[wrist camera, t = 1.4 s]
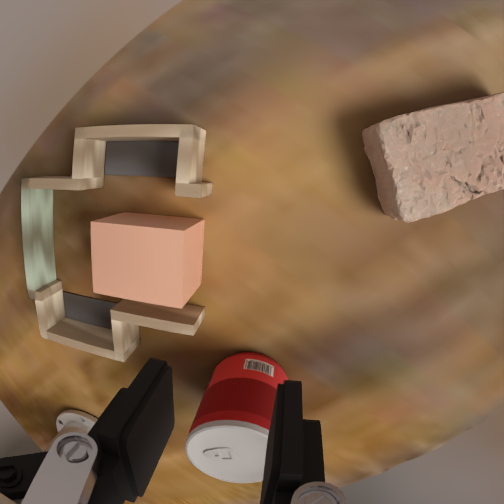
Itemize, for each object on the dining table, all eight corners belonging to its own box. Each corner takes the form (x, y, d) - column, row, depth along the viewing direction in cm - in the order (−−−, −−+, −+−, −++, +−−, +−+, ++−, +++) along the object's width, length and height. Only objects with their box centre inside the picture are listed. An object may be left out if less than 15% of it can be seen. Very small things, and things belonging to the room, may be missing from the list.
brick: (385, 220, 27) (403, 230, 22) (355, 129, 25) (369, 121, 21) (515, 174, 24) (543, 177, 20) (493, 96, 23) (519, 88, 18)
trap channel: (203, 355, 32) (193, 377, 28) (54, 320, 33) (35, 334, 29) (217, 131, 26) (206, 125, 23) (48, 135, 28) (24, 133, 24)
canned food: (199, 362, 32) (166, 434, 21) (271, 338, 30) (262, 414, 20) (232, 414, 33) (213, 488, 23) (299, 395, 32) (300, 474, 21)
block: (201, 283, 30) (181, 308, 24) (124, 272, 31) (93, 292, 25) (204, 218, 28) (183, 230, 23) (124, 211, 29) (90, 221, 23)
